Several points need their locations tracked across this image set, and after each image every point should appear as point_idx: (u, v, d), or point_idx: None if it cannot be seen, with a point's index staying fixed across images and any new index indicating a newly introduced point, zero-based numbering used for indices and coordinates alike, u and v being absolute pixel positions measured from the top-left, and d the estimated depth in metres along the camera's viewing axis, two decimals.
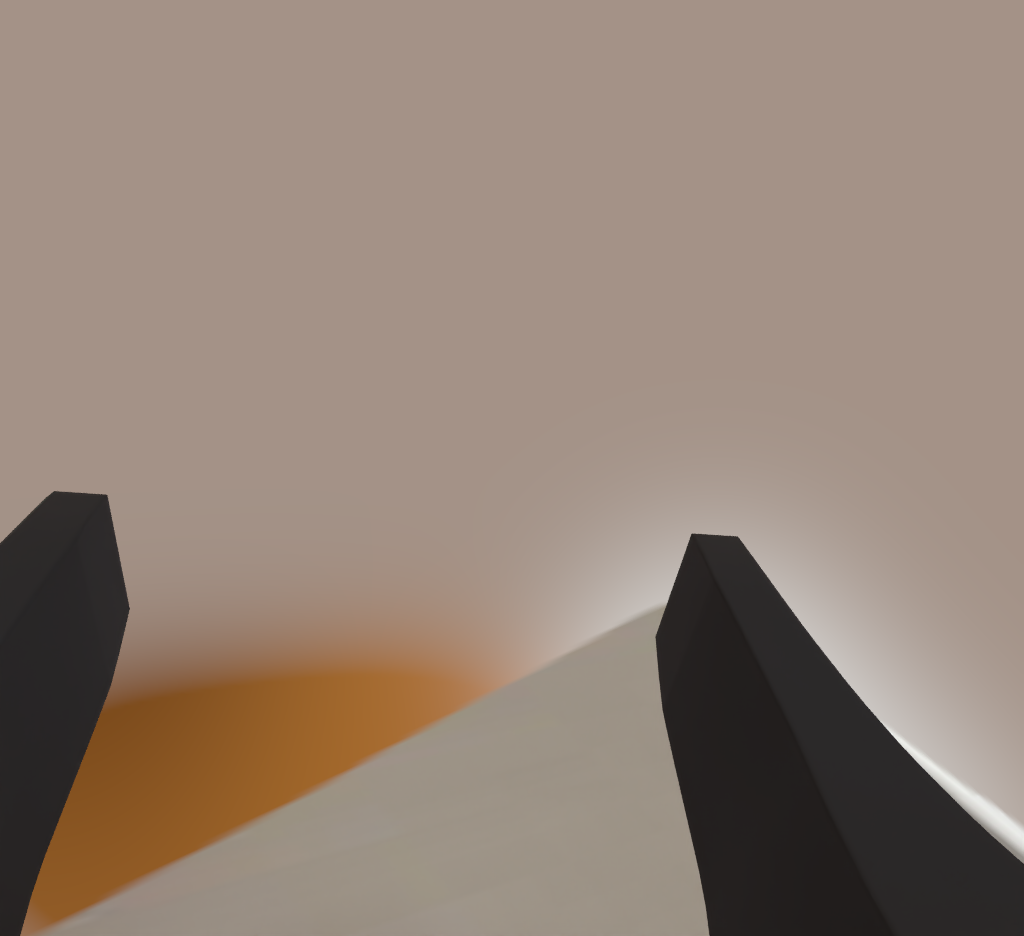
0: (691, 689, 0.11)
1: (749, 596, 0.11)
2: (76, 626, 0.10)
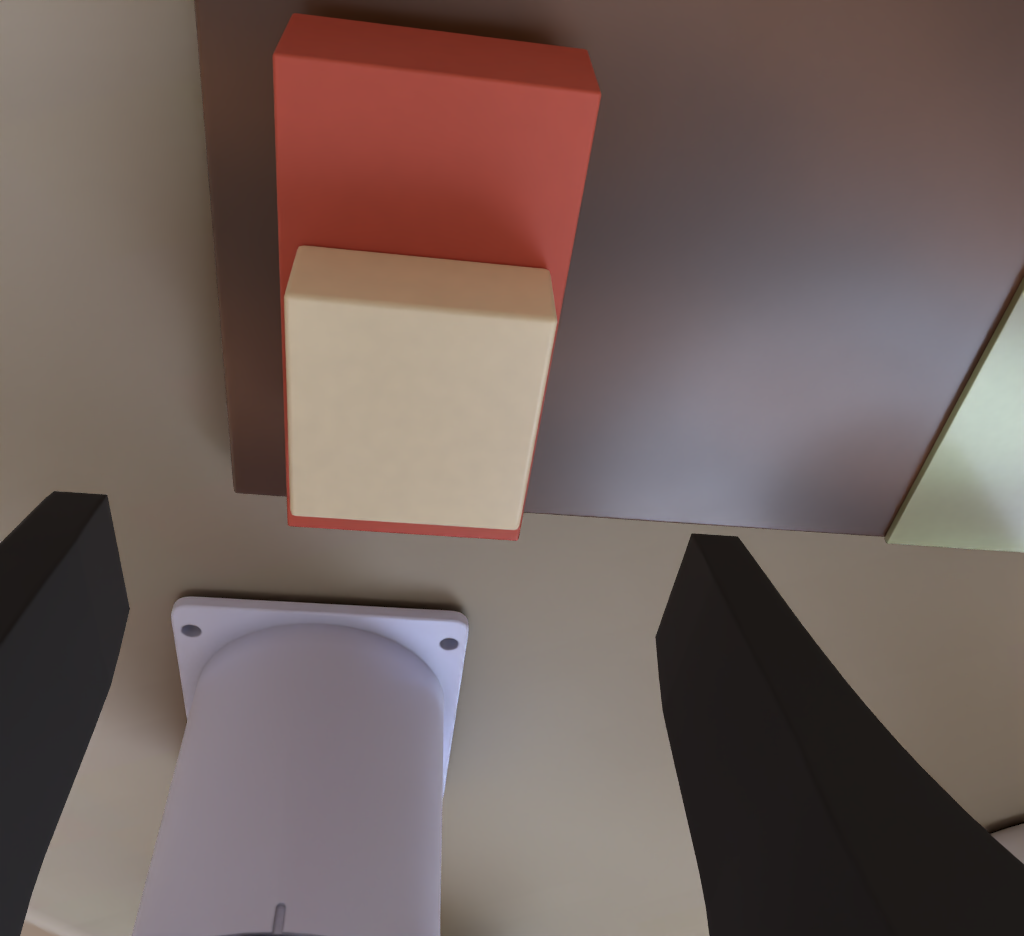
0: (692, 689, 0.11)
1: (749, 596, 0.11)
2: (75, 626, 0.10)
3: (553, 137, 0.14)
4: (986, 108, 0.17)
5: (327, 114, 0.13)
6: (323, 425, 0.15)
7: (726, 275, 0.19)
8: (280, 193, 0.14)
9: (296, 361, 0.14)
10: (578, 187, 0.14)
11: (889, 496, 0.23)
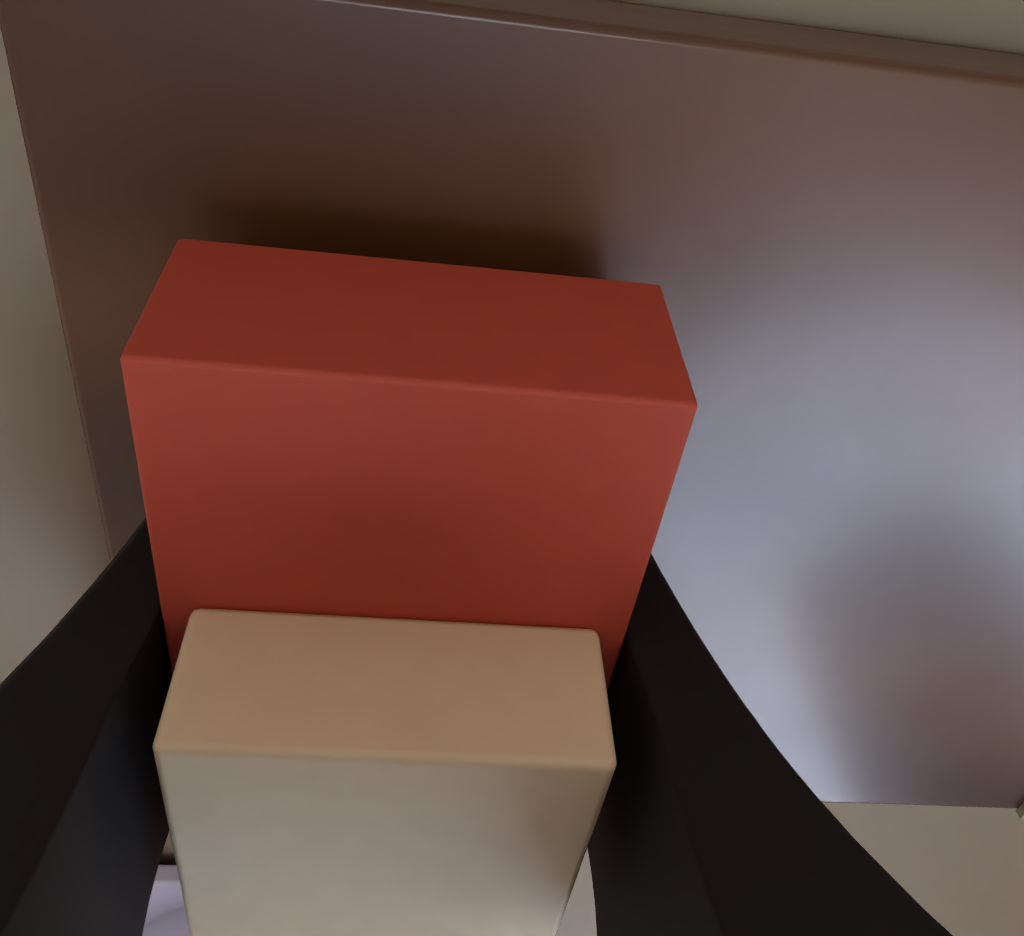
0: None
1: None
2: None
3: (613, 466, 0.08)
4: None
5: (225, 442, 0.08)
6: (235, 885, 0.09)
7: (840, 538, 0.13)
8: (155, 543, 0.09)
9: (182, 821, 0.09)
10: (650, 529, 0.09)
11: None
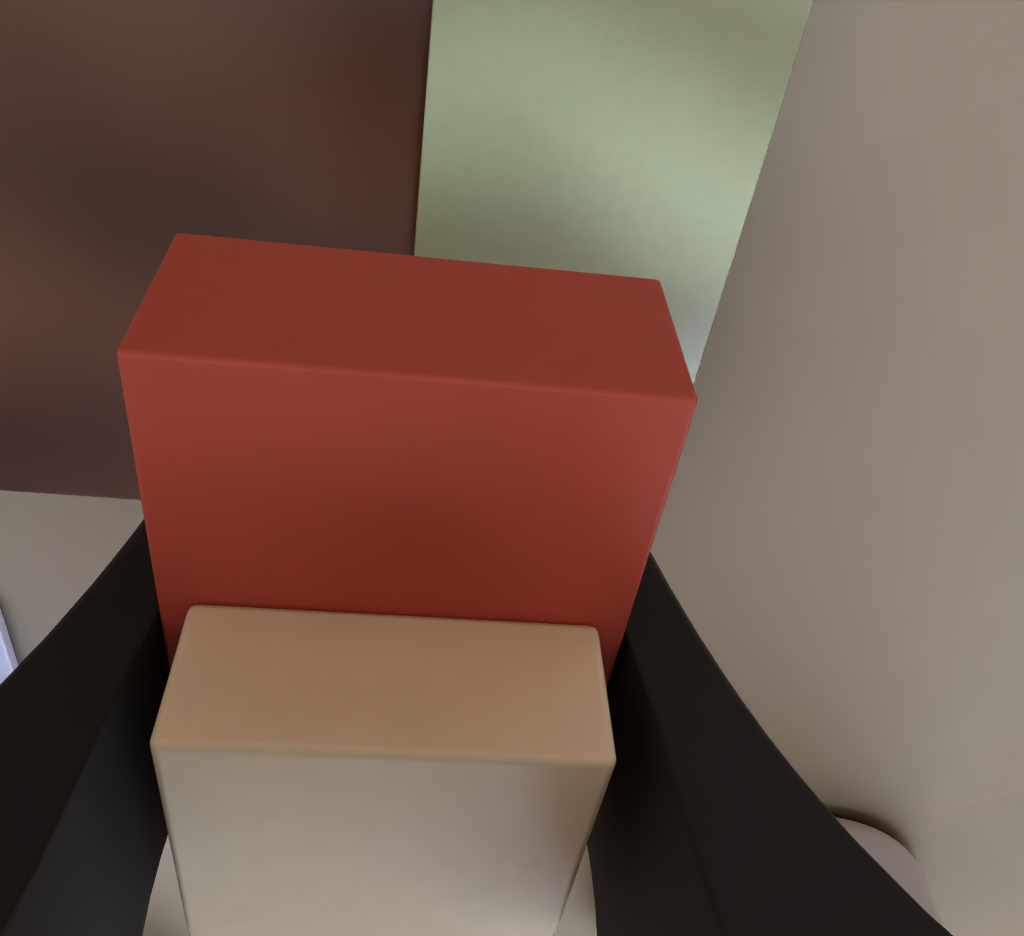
0: None
1: None
2: None
3: (612, 460, 0.08)
4: (284, 32, 0.15)
5: (223, 436, 0.08)
6: (233, 882, 0.09)
7: (79, 223, 0.17)
8: (152, 539, 0.08)
9: (179, 818, 0.09)
10: (650, 525, 0.09)
11: None
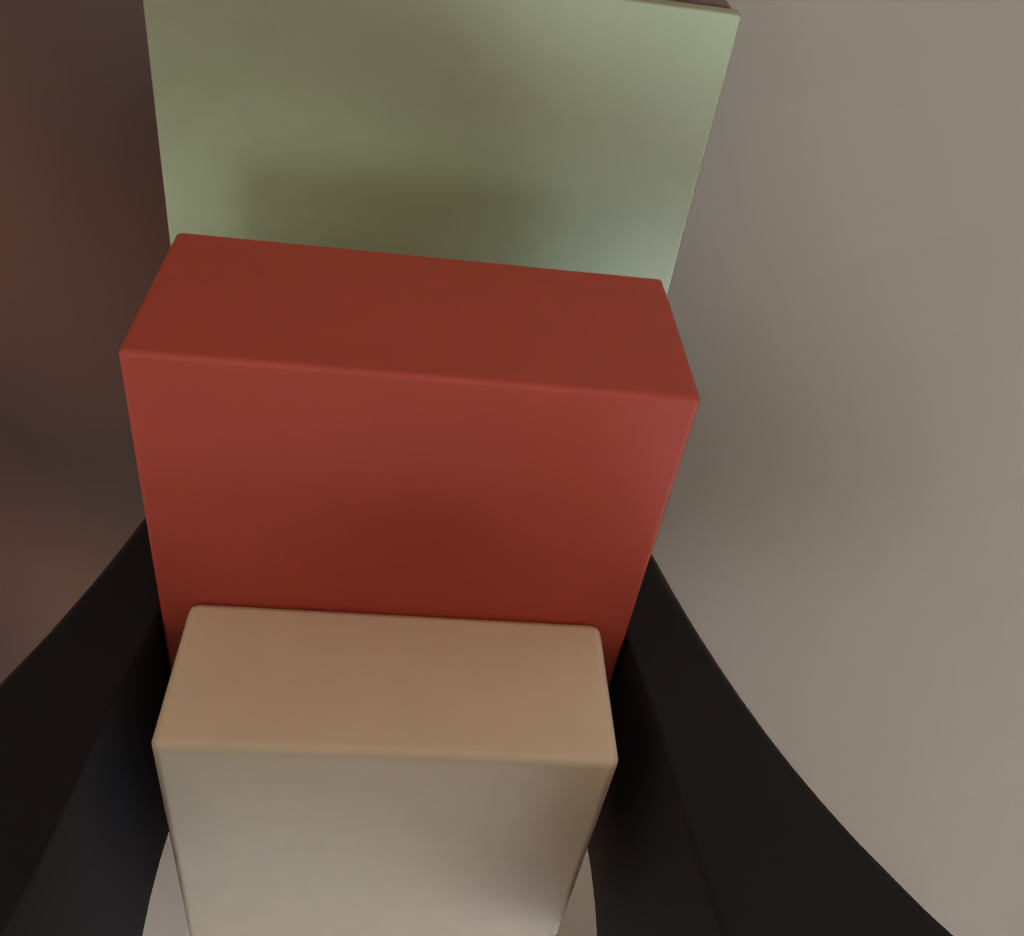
0: None
1: None
2: None
3: (614, 460, 0.08)
4: None
5: (224, 436, 0.08)
6: (234, 882, 0.09)
7: None
8: (154, 539, 0.08)
9: (181, 818, 0.09)
10: (652, 525, 0.09)
11: None
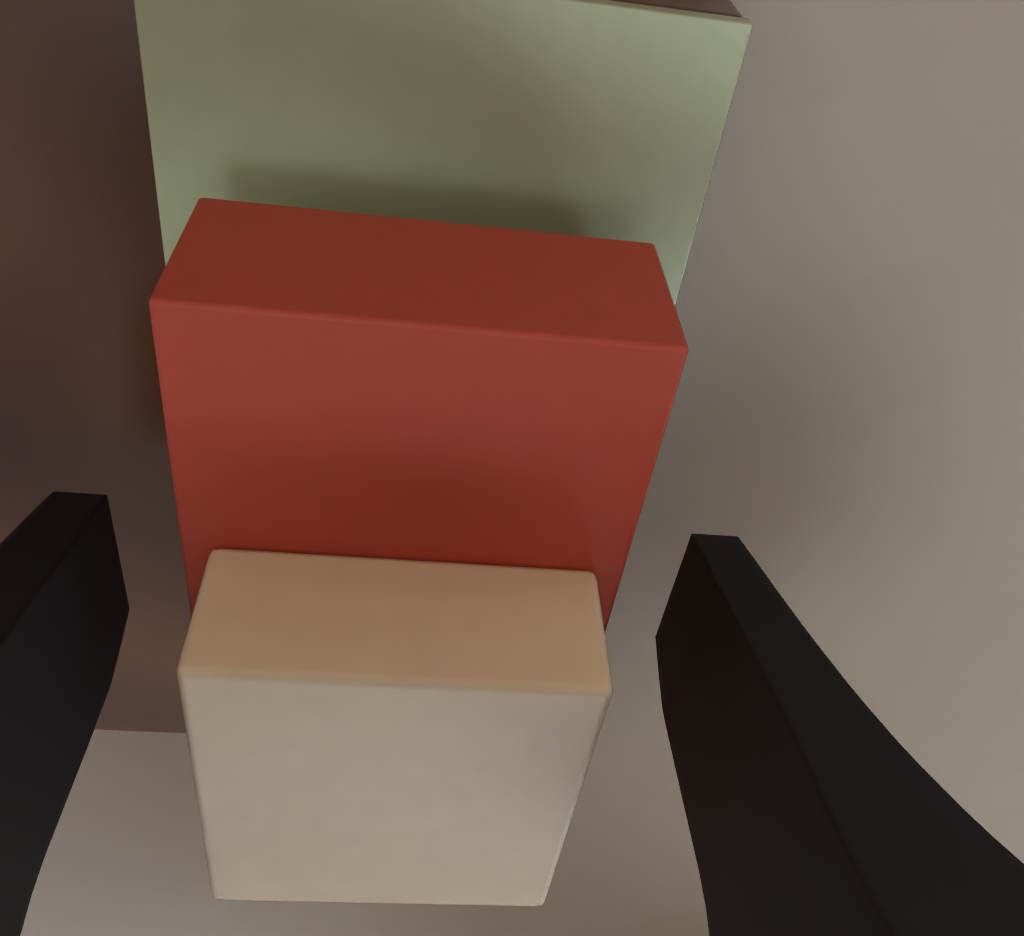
0: (691, 688, 0.11)
1: (749, 596, 0.11)
2: (76, 626, 0.10)
3: (609, 407, 0.09)
4: None
5: (246, 383, 0.08)
6: (251, 812, 0.10)
7: None
8: (177, 484, 0.09)
9: (203, 745, 0.09)
10: (645, 472, 0.09)
11: None
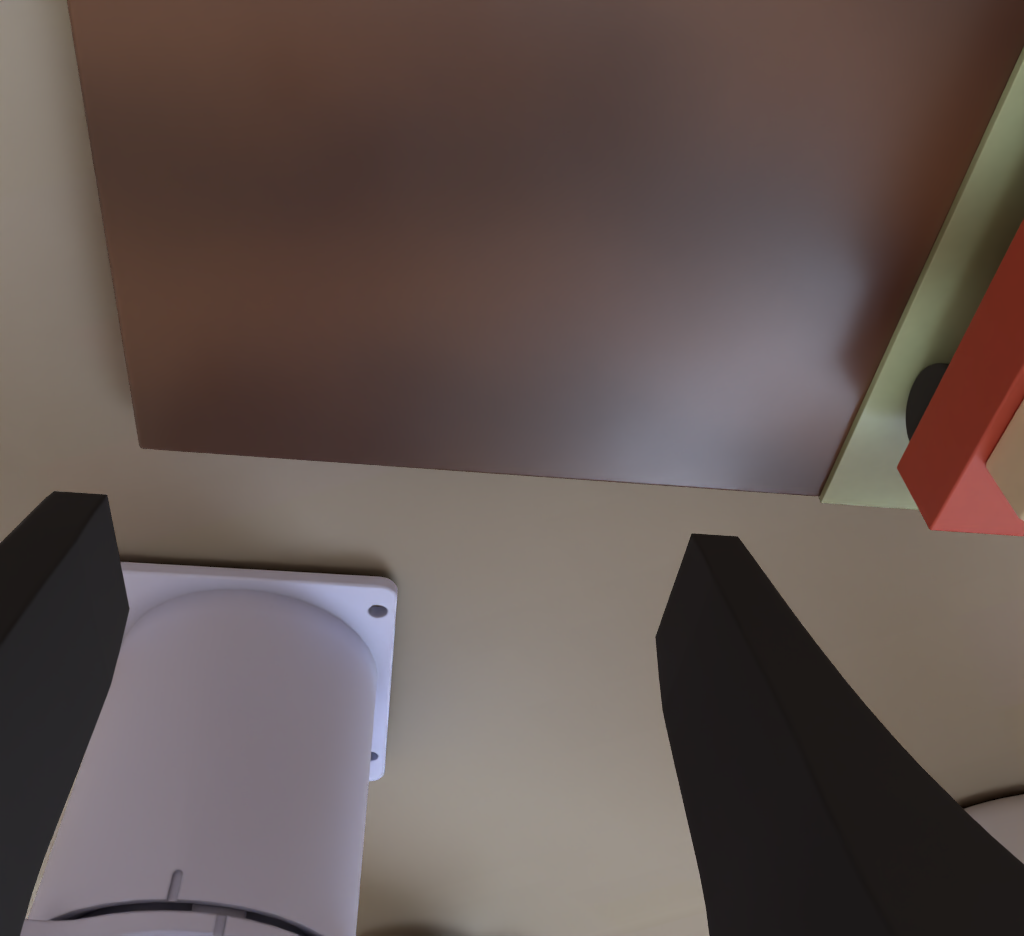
0: (692, 689, 0.11)
1: (749, 596, 0.11)
2: (76, 626, 0.10)
3: None
4: (896, 29, 0.16)
5: None
6: None
7: (635, 213, 0.18)
8: None
9: None
10: None
11: (821, 453, 0.22)
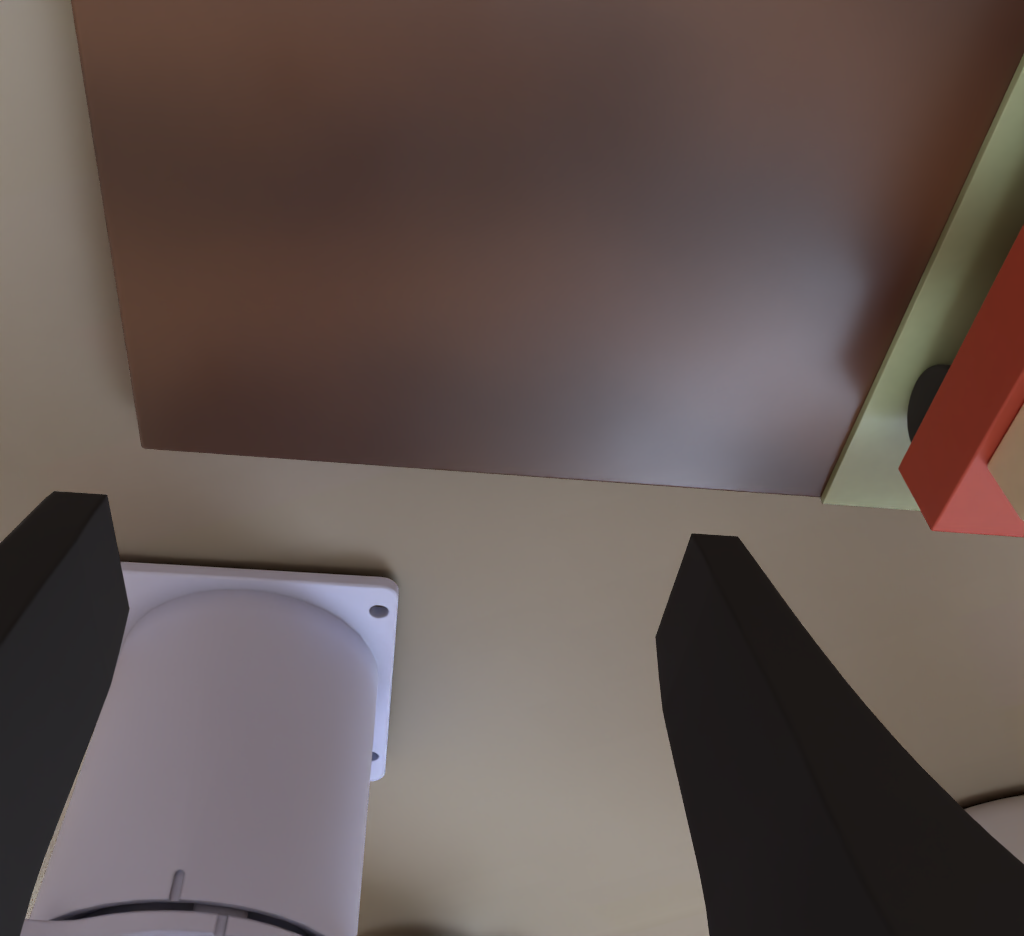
0: (692, 689, 0.11)
1: (749, 596, 0.11)
2: (76, 626, 0.10)
3: None
4: (899, 30, 0.16)
5: None
6: None
7: (638, 214, 0.18)
8: None
9: None
10: None
11: (823, 453, 0.22)
